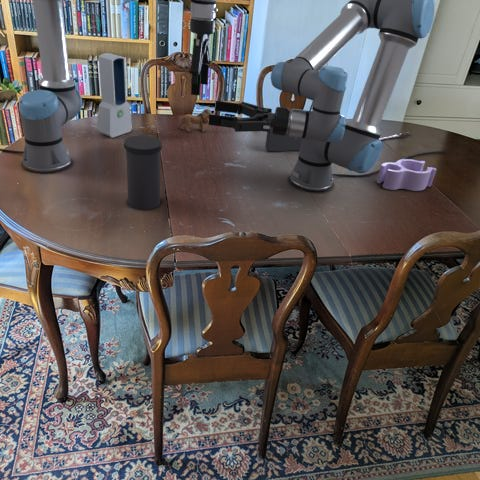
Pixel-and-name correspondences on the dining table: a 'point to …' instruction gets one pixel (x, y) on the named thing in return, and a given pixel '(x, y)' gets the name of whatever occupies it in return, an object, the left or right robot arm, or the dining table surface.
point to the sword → (392, 136)
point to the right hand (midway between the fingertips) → (212, 112)
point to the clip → (406, 175)
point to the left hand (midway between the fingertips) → (199, 89)
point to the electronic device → (113, 97)
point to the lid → (142, 145)
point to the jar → (143, 180)
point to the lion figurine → (196, 120)
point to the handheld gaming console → (281, 142)
